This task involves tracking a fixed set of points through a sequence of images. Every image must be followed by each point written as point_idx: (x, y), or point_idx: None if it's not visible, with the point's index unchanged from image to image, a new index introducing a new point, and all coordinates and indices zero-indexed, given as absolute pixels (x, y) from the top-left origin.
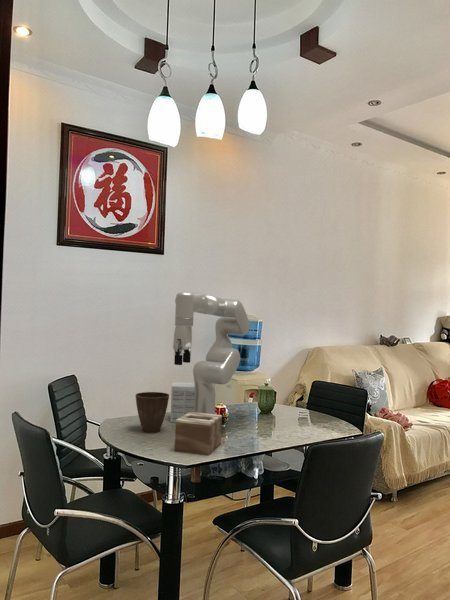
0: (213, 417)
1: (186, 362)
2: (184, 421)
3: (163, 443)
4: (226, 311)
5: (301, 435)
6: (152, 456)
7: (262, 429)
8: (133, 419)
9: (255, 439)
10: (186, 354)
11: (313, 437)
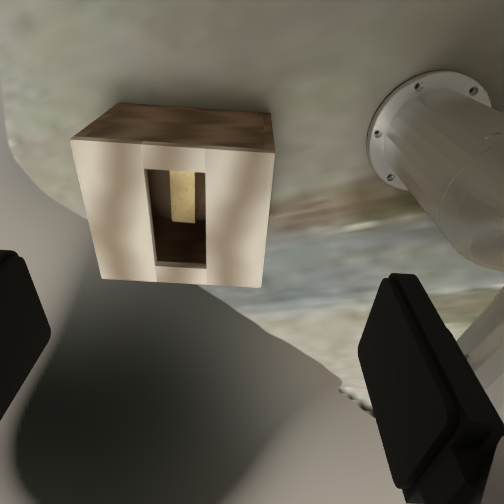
0: (205, 269)
1: (373, 315)
2: (81, 180)
3: (192, 18)
4: None
5: None
6: (7, 40)
7: (471, 301)
8: None
9: (346, 298)
10: (411, 437)
11: None
